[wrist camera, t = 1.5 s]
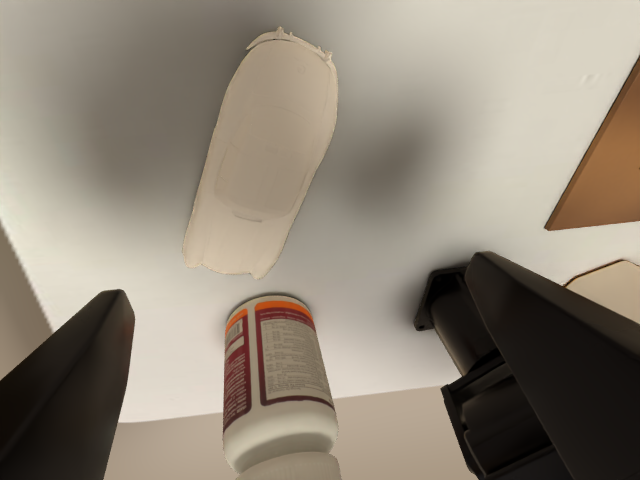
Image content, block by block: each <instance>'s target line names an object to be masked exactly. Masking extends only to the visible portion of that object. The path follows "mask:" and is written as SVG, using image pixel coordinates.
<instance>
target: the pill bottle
mask: <svg viewBox="0 0 640 480" xmlns="http://www.w3.org/2000/svg"><path fill="white" fill-rule="evenodd" d="M223 411H224V412H223V417H224V418H223V450H224V455H225V459H226V461H227V463H228V464H229V465H230V467H231V468H232V469H233V470H234V471H235V472H237V473H239V474H240V475H239V476H238V477H237V478H236V480H342V479H341V475H340V468H339V463H338V461H337V459H336V458H335V457H334V456H333V455H331V454H329V452H330V451H331V450H332V448H333V446H334V444H335V442H336V440H337V436H338V422H337V418H336V412H335V409H334V404H333V401H332V396H331V392H330V388H329V384H328V379H327V375H326V371H325V367H324V363H323V359H322V355H321V351H320V347H319V342H318V338H317V334H316V330H315V326H314V322H313V319H312V315H311V313H310V311H309V310H308V308H307V307H306V306H305V305H304V304H303V303H302V302H300V301H298V300H296V299H294V298H291V297H286V296H264V297H260V298H256V299H253V300H250V301H248V302H246V303H244V304H243V305H241V306H240V307H238V308H237V309H236V310H235V311H234V312H233V313H232V315H231V316H230V318H229V320H228V322H227V325H226V330H225V364H224V409H223Z"/></svg>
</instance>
